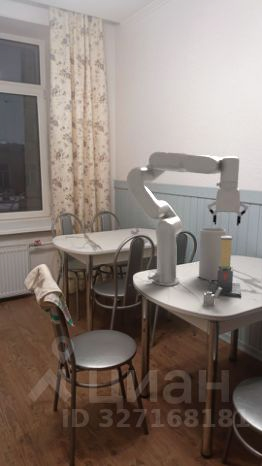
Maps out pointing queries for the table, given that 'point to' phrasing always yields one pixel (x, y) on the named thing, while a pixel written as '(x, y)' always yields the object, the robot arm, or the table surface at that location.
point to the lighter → (211, 297)
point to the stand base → (225, 283)
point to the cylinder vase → (210, 252)
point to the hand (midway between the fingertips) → (226, 224)
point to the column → (226, 252)
